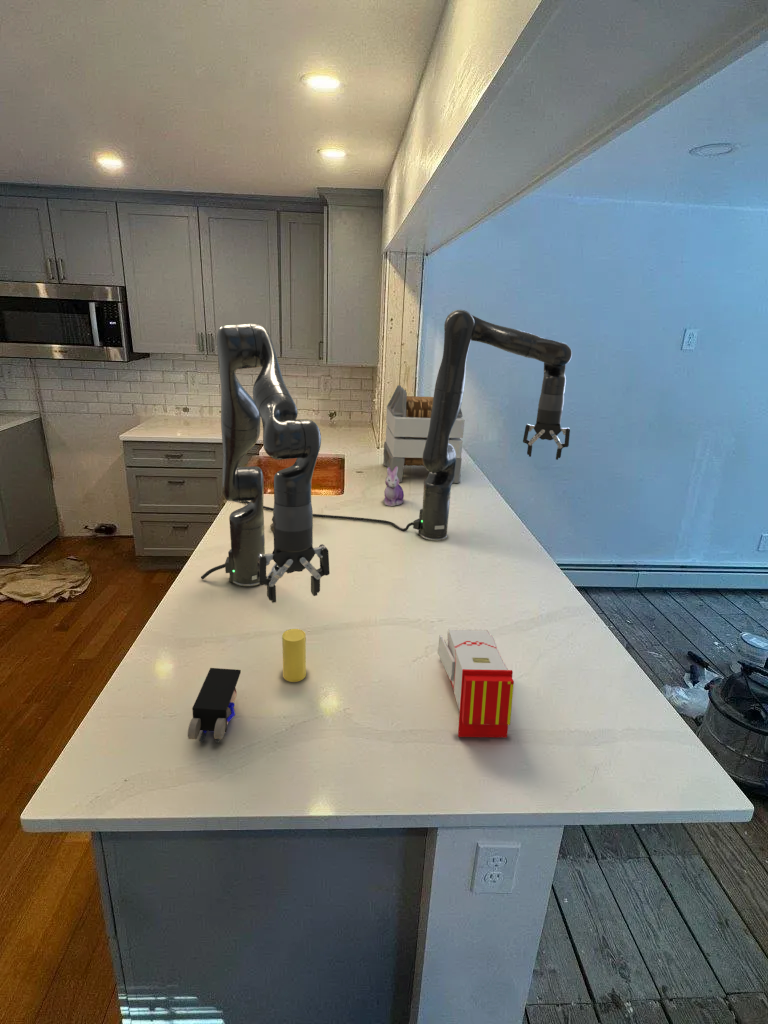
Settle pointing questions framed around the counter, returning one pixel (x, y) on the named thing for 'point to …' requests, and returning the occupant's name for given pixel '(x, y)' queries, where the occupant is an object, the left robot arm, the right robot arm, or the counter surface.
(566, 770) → the counter surface
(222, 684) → the figurine character
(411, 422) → the grey slatted crate
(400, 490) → the figurine
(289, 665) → the canister
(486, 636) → the toy
